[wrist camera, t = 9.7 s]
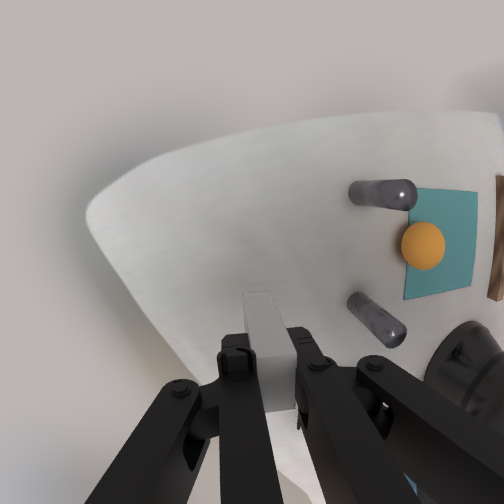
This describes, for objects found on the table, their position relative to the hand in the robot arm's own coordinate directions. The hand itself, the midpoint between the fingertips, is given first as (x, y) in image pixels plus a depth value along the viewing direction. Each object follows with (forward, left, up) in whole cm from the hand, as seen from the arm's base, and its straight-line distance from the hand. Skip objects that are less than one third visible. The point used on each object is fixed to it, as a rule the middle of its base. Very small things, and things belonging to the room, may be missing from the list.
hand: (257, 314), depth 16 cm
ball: (+1, -20, -11) cm, 23 cm away
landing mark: (0, -27, -14) cm, 30 cm away
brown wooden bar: (0, -41, -14) cm, 43 cm away
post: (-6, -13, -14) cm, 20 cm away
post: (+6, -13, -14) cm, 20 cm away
